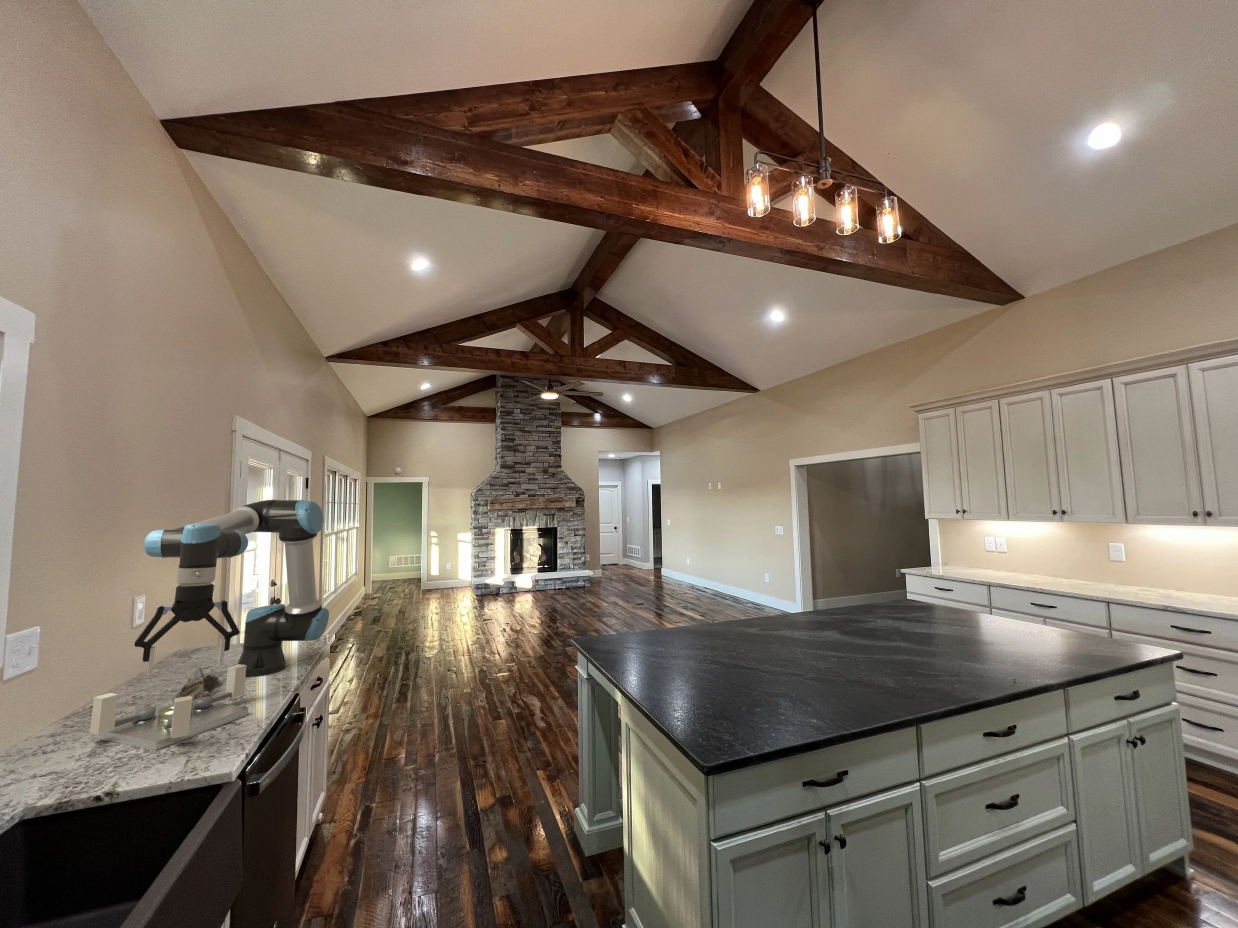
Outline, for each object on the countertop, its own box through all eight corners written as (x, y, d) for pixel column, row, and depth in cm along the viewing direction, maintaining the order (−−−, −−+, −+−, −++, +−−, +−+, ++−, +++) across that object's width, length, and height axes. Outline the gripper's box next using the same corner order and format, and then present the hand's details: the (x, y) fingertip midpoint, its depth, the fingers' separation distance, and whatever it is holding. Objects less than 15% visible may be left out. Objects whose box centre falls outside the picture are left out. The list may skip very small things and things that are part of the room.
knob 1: (148, 713, 136) (152, 681, 137) (158, 715, 135) (162, 682, 136) (88, 732, 124) (93, 696, 125) (99, 734, 123) (103, 698, 124)
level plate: (189, 705, 149) (191, 685, 150) (247, 714, 143) (249, 694, 144) (91, 737, 127) (94, 714, 128) (155, 750, 121) (158, 726, 122)
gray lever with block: (200, 709, 140) (203, 677, 140) (190, 707, 141) (193, 676, 142) (244, 694, 152) (247, 665, 153) (234, 692, 153) (237, 664, 154)
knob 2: (166, 723, 130) (170, 689, 131) (186, 718, 133) (190, 685, 134) (169, 739, 121) (173, 702, 122) (190, 734, 124) (194, 698, 125)
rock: (205, 699, 152) (196, 668, 153) (165, 715, 149) (156, 684, 150) (234, 684, 169) (225, 656, 170) (198, 698, 166) (189, 670, 167)
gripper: (128, 589, 116) (116, 683, 114) (257, 581, 134) (249, 663, 131) (128, 586, 122) (116, 675, 119) (252, 579, 139) (244, 657, 137)
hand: (186, 669), depth 125 cm, fingers open, 13 cm apart
